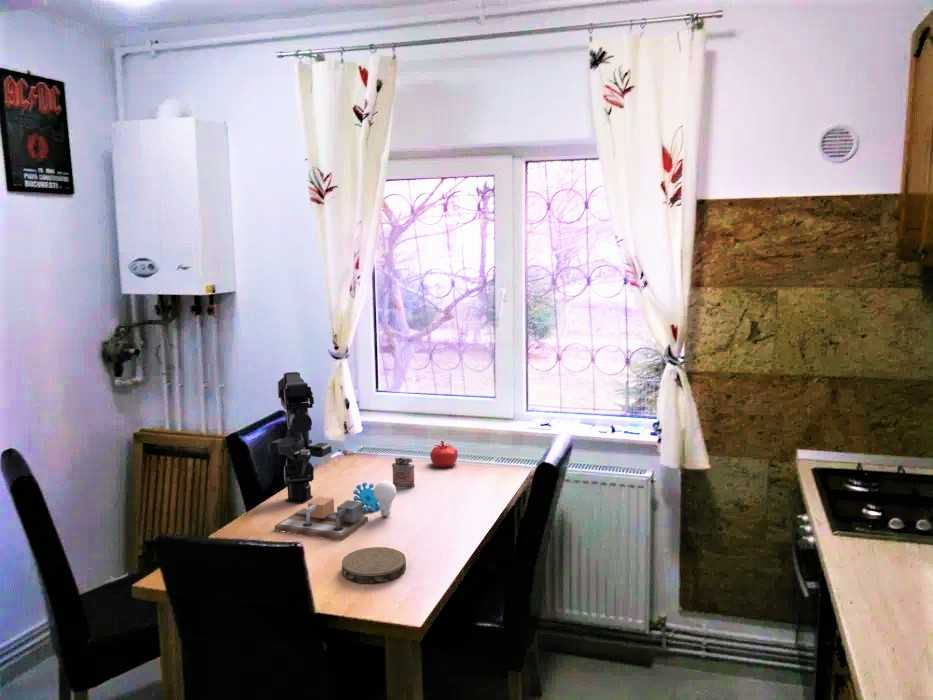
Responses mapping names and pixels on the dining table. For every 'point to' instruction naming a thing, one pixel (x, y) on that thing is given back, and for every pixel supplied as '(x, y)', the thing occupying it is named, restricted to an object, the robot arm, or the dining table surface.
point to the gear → (366, 497)
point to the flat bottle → (403, 473)
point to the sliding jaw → (319, 508)
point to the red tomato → (443, 455)
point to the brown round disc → (373, 565)
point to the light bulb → (385, 496)
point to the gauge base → (327, 522)
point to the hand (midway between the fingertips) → (301, 475)
